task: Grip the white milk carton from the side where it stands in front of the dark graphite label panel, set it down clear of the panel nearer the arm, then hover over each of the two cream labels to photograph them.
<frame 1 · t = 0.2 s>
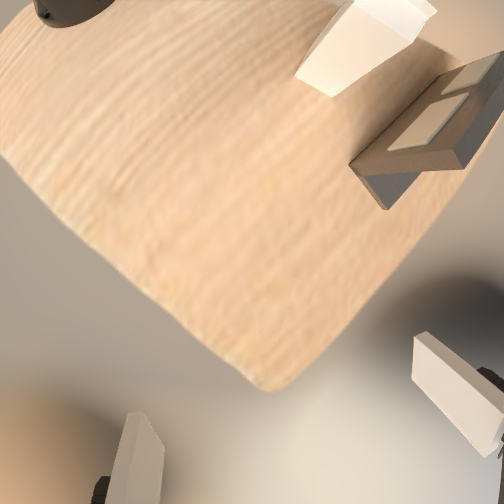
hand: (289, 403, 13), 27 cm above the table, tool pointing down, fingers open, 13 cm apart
label panel: (405, 118, 38), on the table
milk: (320, 71, 36), on the table
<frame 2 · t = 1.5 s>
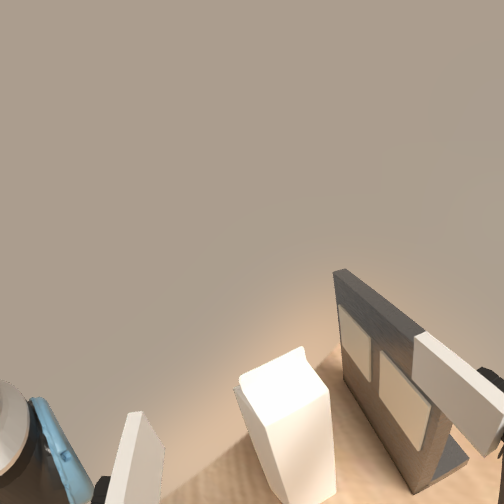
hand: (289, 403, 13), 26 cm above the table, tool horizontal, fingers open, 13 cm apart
label panel: (380, 427, 35), on the table
milk: (302, 492, 28), on the table
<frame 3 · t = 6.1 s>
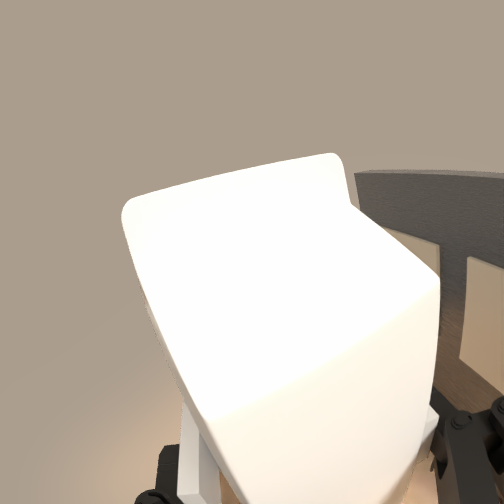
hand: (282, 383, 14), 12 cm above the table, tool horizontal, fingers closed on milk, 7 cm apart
label panel: (444, 419, 19), on the table
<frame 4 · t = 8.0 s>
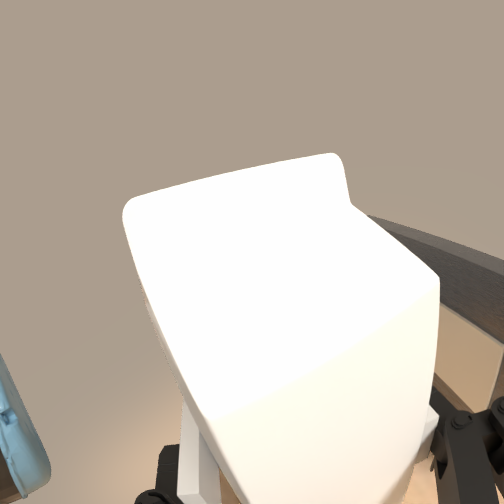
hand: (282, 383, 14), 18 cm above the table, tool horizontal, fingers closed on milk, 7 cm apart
label panel: (417, 403, 29), on the table
when the fingers open (13 cm above the table, at t = 9.8 s): milk drops 1 cm, on the table.
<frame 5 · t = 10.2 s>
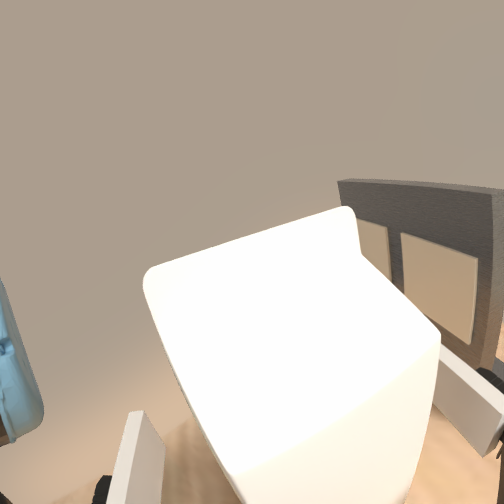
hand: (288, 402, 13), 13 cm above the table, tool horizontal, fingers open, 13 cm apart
label panel: (406, 355, 32), on the table
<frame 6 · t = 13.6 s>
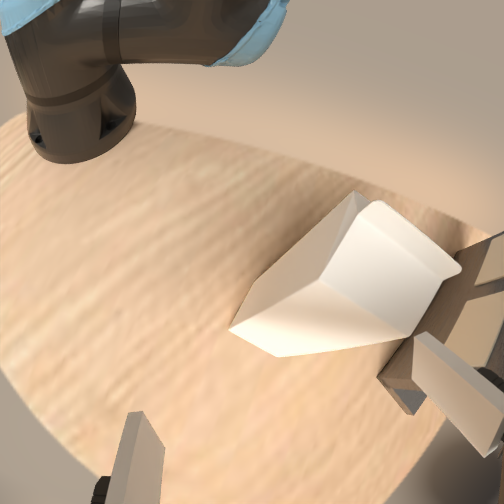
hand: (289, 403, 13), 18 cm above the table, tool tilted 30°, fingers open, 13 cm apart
label panel: (429, 311, 38), on the table
milk: (264, 319, 32), on the table
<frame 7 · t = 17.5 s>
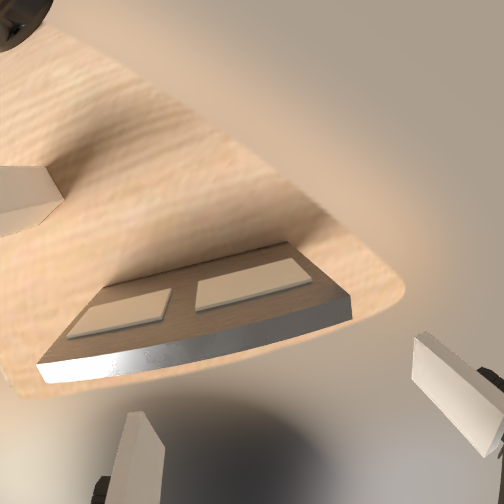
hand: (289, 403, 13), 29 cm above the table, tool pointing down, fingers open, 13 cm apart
label panel: (192, 272, 40), on the table
milk: (41, 196, 35), on the table
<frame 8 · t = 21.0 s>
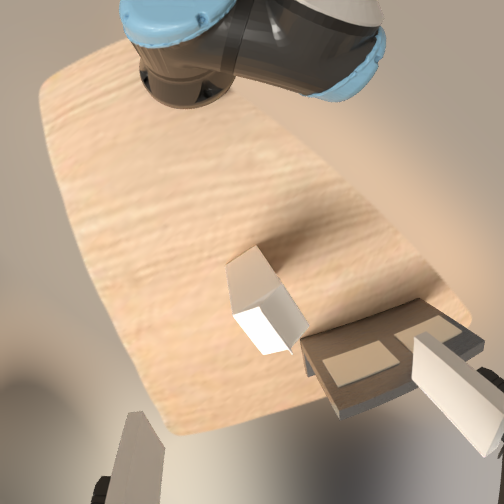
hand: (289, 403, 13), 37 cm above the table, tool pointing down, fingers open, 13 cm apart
label panel: (365, 322, 55), on the table
milk: (250, 269, 50), on the table
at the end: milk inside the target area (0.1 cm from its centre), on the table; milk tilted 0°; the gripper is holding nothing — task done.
